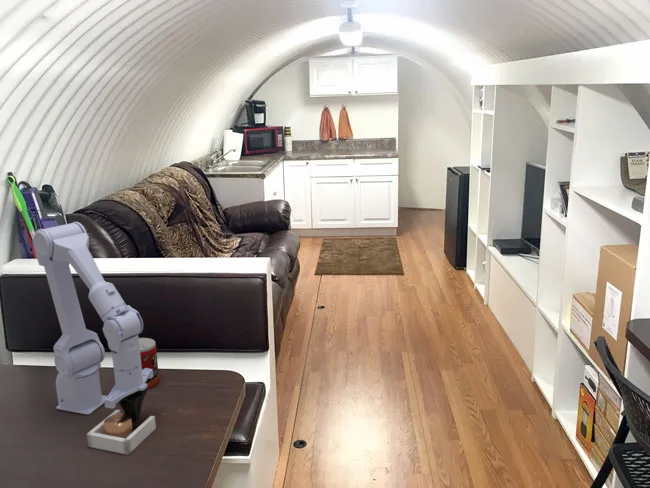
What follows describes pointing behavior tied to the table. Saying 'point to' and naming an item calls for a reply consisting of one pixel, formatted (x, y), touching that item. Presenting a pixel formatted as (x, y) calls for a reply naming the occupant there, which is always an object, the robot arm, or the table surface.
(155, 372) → the canned food
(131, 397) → the robot arm
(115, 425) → the tan short cylinder
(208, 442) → the table surface
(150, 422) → the u-shaped bracket
